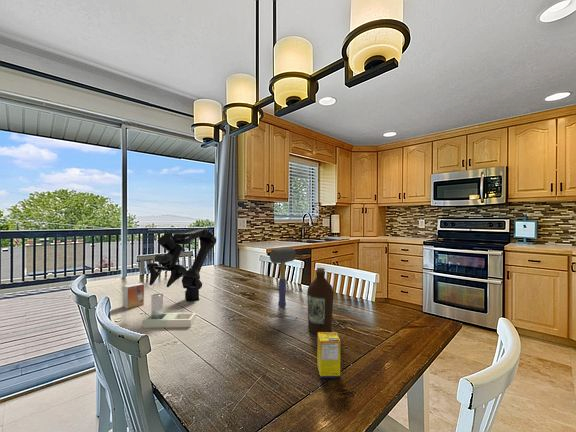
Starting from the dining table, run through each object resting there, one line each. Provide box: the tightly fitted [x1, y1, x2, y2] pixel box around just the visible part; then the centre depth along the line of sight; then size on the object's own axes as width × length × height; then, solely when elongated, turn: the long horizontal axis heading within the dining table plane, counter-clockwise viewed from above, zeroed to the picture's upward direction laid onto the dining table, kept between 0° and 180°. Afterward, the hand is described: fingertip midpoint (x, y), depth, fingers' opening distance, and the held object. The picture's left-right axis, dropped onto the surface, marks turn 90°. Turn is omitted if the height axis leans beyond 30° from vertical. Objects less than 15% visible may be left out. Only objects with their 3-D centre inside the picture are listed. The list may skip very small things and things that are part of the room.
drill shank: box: [150, 293, 164, 319], centre depth 115 cm, size 4×4×12 cm
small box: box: [122, 282, 145, 309], centre depth 136 cm, size 8×6×10 cm
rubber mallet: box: [269, 247, 297, 309], centre depth 137 cm, size 12×8×30 cm, turn 131°
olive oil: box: [306, 267, 335, 335], centre depth 111 cm, size 11×11×25 cm
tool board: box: [141, 312, 197, 329], centre depth 115 cm, size 19×8×3 cm, turn 93°
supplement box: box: [316, 331, 341, 379], centre depth 81 cm, size 6×6×11 cm
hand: (158, 286), depth 124 cm, fingers open, 9 cm apart
